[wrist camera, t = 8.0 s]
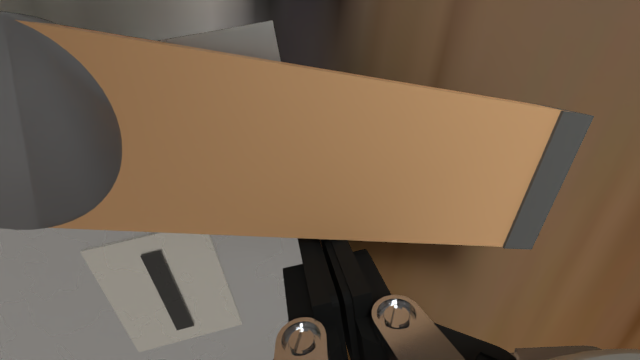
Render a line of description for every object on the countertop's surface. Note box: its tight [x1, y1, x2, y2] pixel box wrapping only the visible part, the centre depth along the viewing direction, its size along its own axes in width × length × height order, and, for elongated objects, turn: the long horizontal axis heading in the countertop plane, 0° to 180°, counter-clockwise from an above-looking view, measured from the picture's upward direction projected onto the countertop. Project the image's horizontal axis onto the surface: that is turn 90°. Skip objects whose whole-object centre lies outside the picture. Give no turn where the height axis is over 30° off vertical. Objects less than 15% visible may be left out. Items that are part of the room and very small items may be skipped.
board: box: [0, 21, 303, 360], centre depth 13 cm, size 18×24×3 cm
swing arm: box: [0, 11, 594, 249], centre depth 10 cm, size 19×5×2 cm, turn 81°
